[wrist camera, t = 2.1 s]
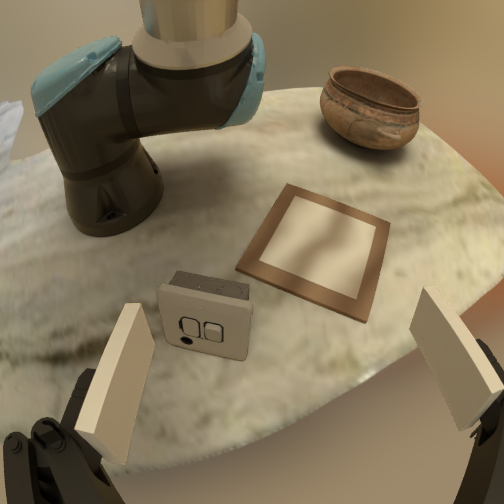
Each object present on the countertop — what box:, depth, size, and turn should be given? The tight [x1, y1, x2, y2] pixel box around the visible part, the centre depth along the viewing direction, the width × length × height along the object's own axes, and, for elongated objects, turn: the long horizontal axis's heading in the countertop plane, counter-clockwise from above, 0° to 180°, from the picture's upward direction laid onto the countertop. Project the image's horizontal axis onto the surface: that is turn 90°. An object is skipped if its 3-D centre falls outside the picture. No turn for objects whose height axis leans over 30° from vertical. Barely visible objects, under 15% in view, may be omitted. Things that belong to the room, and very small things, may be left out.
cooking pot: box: [320, 66, 423, 150], centre depth 48 cm, size 25×19×12 cm
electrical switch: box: [156, 271, 253, 360], centre depth 27 cm, size 8×5×8 cm, turn 79°
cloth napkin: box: [236, 183, 390, 323], centre depth 37 cm, size 16×16×1 cm
